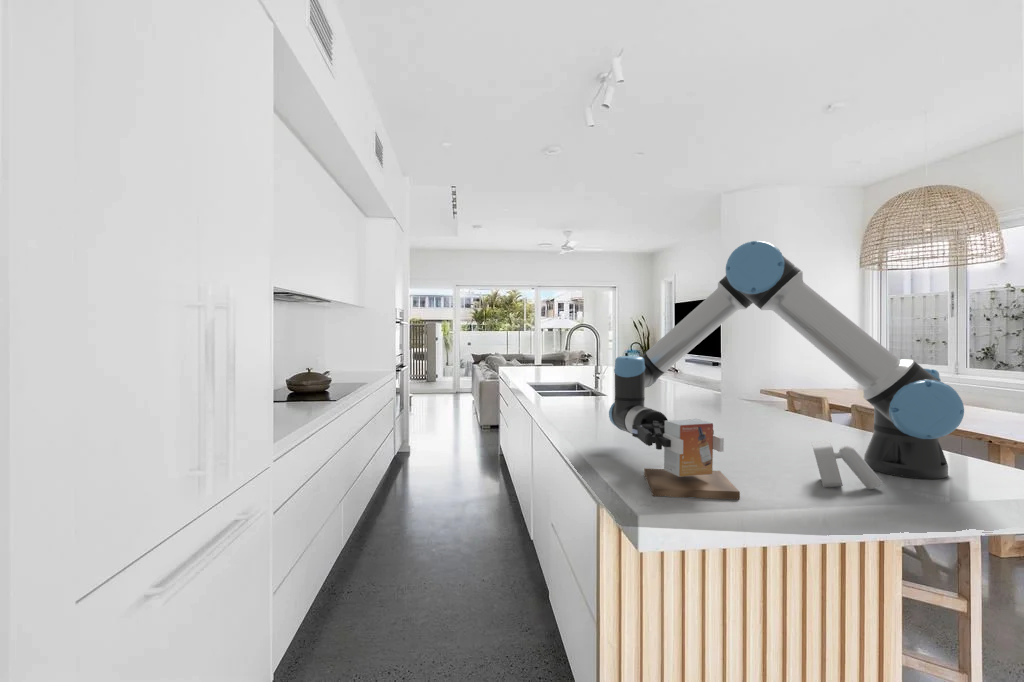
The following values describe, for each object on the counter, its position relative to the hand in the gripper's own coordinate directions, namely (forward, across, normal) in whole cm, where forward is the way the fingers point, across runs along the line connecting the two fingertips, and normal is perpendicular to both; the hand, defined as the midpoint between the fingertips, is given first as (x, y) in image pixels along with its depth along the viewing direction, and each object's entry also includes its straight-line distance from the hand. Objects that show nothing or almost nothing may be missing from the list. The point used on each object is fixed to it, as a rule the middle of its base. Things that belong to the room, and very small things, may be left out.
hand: (701, 446), depth 100 cm
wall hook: (+2, -31, -10) cm, 33 cm away
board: (-5, 0, -9) cm, 11 cm away
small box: (-5, 0, -7) cm, 8 cm away
